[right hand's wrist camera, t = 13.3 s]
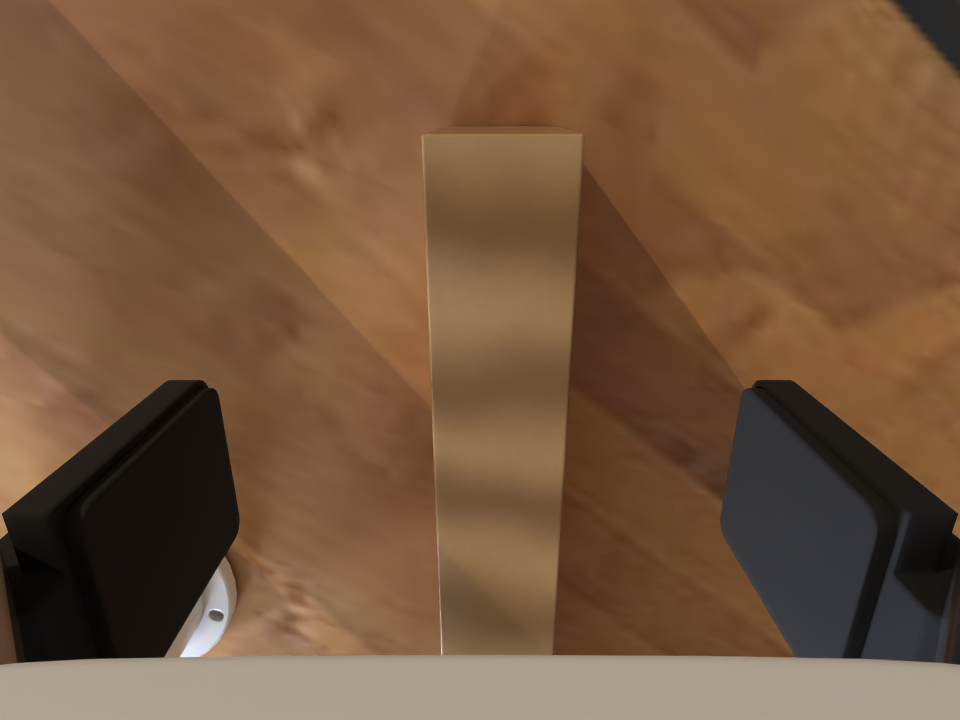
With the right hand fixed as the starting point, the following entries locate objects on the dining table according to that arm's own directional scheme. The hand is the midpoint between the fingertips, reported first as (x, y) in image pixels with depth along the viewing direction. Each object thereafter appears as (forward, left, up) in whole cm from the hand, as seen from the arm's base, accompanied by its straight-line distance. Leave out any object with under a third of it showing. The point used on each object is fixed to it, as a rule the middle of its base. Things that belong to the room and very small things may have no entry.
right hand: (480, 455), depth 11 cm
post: (-16, -19, -18) cm, 31 cm away
